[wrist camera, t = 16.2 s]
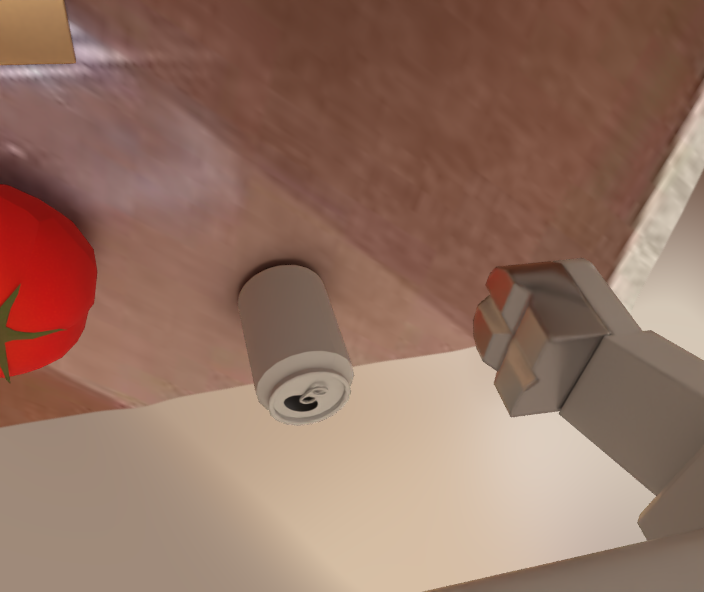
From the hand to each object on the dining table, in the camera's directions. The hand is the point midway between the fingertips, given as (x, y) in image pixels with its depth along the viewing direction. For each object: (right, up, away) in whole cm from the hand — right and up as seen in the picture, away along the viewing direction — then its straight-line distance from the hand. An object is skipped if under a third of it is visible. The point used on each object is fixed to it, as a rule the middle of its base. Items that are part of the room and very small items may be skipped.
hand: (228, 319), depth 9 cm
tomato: (-22, +5, +35) cm, 42 cm away
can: (-4, +1, +47) cm, 47 cm away
